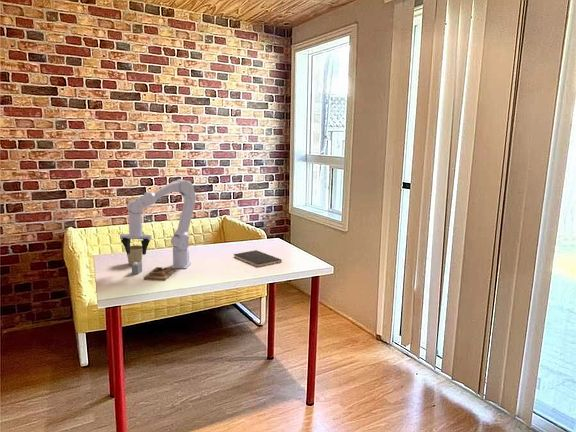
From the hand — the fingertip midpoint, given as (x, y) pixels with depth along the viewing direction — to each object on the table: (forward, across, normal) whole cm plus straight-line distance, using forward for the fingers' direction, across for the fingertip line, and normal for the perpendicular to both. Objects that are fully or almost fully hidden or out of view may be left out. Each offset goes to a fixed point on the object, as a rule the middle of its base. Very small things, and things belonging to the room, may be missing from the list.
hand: (136, 253), depth 196 cm
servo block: (+9, 0, 0) cm, 9 cm away
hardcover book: (+10, +54, +31) cm, 63 cm away
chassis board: (+9, +12, -2) cm, 15 cm away
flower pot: (+10, -7, +14) cm, 18 cm away
